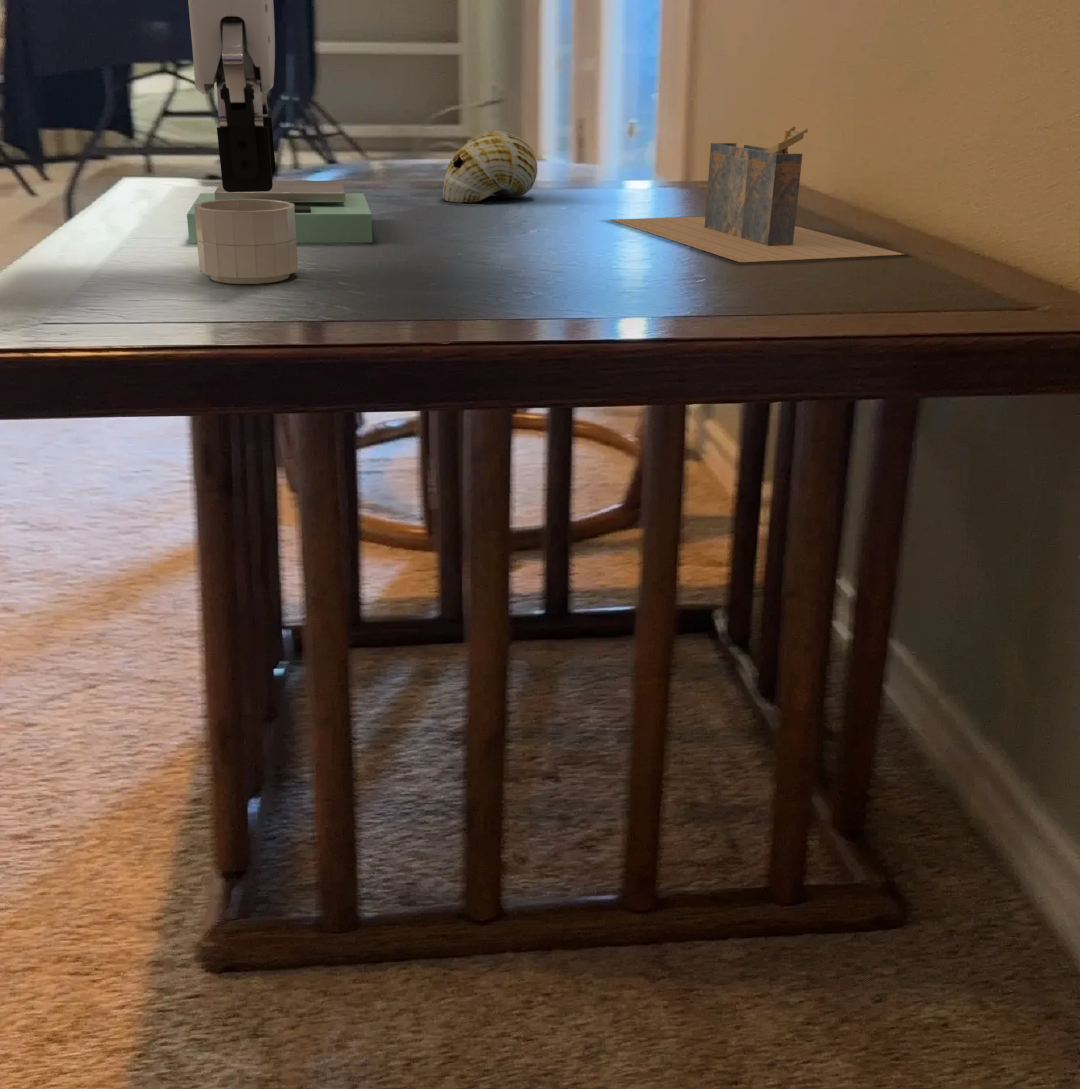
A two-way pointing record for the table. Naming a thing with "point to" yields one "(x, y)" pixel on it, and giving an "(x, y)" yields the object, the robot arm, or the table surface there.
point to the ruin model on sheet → (754, 210)
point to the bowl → (246, 240)
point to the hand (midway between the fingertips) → (251, 182)
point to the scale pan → (291, 192)
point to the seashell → (490, 168)
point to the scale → (318, 220)
